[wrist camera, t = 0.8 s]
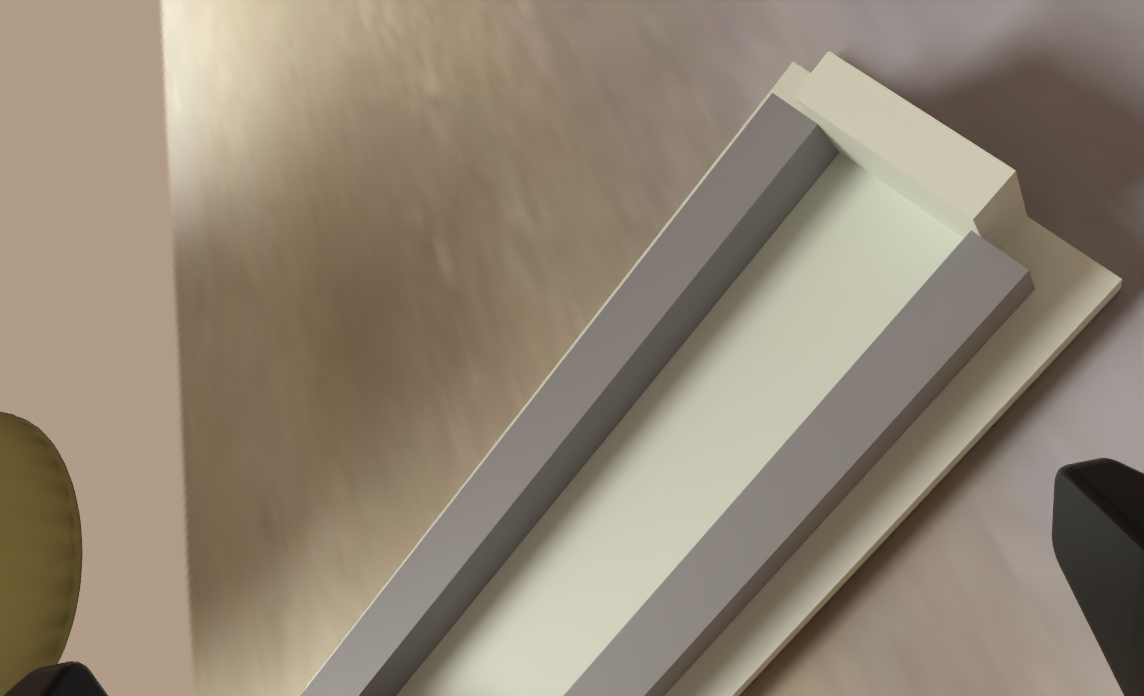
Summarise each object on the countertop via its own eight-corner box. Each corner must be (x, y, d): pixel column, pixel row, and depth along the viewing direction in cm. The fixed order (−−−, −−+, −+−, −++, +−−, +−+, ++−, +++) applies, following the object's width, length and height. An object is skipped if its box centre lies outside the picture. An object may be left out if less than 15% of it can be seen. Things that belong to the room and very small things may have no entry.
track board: (1120, 288, 18) (1127, 241, 14) (505, 945, 22) (396, 1030, 19) (805, 78, 21) (749, -1, 18) (331, 680, 26) (212, 710, 22)
